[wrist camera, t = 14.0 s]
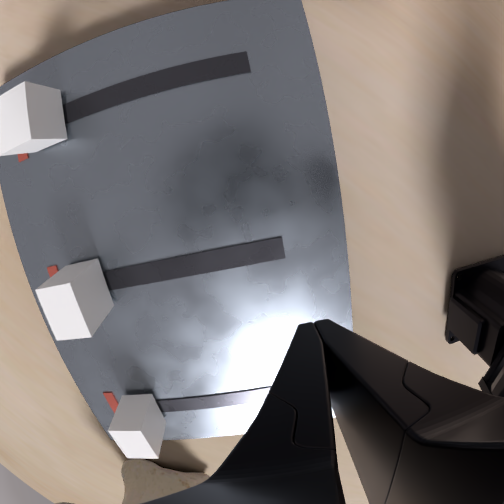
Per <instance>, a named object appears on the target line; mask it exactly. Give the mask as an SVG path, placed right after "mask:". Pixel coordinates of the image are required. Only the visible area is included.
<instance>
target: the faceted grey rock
mask: <svg viewBox="0 0 504 504" xmlns="http://www.w3.org/2000/svg"><path fill="white" fill-rule="evenodd" d="M121 473H122V477H123V481H124V485H125V494H124V499H123V502H122V504H140V503H144V502H147V501H150V500H154V499H157V498H160V497H164V496H167V495H170V494H173V493H176V492H179V491H182V490H185V489H187V488H190V487H193V486H196V485H198V484H200V483H202V482H204V481H205V480H207V479H208V478H209V476H208V475H207V474H204V472H200V473H184V472H179V471H174V470H171V469H167V468H162V467H160V466H158V465H157V464H155V463H154V462H151V461H149V460H145V459H140V458H136V459H130V460H127V461H125V462H124V464H123V466H122V470H121Z"/></svg>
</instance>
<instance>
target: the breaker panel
mask: <svg viewBox="0 0 504 504" xmlns="http://www.w3.org/2000/svg"><path fill="white" fill-rule="evenodd" d="M24 81H26V82H31V83H35V84H39V85H43V86H47V87H51V88H55V89H59V90H60V91H61V99H62V106H63V113H64V120H65V126H66V132H67V138H68V139H66V140H63V141H61V142H58V143H56V144H54V145H51V146H49V147H47V148H44V149H42V150H40V151H38V152H33V153H23V154H14V155H5V156H0V184H1V189H2V193H3V198H4V202H5V206H6V210H7V214H8V218H9V222H10V225H11V229H12V232H13V236H14V239H15V243H16V246H17V249H18V252H19V255H20V258H21V261H22V264H23V267H24V270H25V273H26V276H27V279H28V281H29V284H30V287H31V289H32V292H33V294H34V297H35V299H36V302H37V304H38V307H39V309H40V312H41V314H42V316H43V319H44V321H45V323H46V325H47V328H48V330H49V332H50V334H51V336H52V338H53V340H54V343H55V345H56V347H57V349H58V351H59V353H60V355H61V357H62V359H63V361H64V363H65V364H66V366H67V368H68V370H69V372H70V374H71V376H72V377H73V379H74V381H75V383H76V385H77V386H78V388H79V390H80V392H81V393H82V395H83V397H84V398H85V400H86V402H87V403H88V405H89V407H90V408H91V410H92V412H93V413H94V415H95V416H96V418H97V419H98V421H99V422H100V424H101V426H102V427H103V429H104V430H105V432H106V433H107V434H108V436H109V437H110V439H111V440H114V439H113V437H112V436H111V435H110V433H109V432H108V429H109V427H110V424H111V421H112V419H113V416H114V414H115V411H116V409H117V406H118V404H119V402H120V399H121V397H122V395H140V394H152V395H153V397H154V399H155V401H156V403H157V405H158V407H159V409H160V411H161V413H162V415H163V417H164V419H165V420H166V426H165V431H164V435H163V440H178V439H195V438H208V437H219V436H229V435H238V434H245V432H246V431H247V430H248V428H249V427H250V425H251V424H252V422H253V421H254V419H255V418H256V416H257V414H258V412H259V410H260V408H261V406H262V405H263V403H264V400H265V398H266V396H267V394H268V392H269V390H270V388H271V386H272V383H273V381H274V379H275V377H276V375H277V373H278V370H279V368H280V366H281V364H282V361H283V359H284V357H285V355H286V352H287V350H288V348H289V345H290V343H291V341H292V338H293V336H294V334H295V331H296V329H297V327H298V325H299V324H302V323H307V322H313V323H314V322H315V321H318V320H323V319H330V320H332V321H333V322H335V323H337V324H339V325H341V326H343V327H345V328H347V329H348V330H350V331H352V332H353V327H352V307H351V291H350V277H349V265H348V254H347V243H346V233H345V224H344V215H343V207H342V199H341V192H340V184H339V177H338V170H337V164H336V157H335V151H334V145H333V139H332V133H331V127H330V122H329V117H328V111H327V106H326V101H325V96H324V91H323V86H322V82H321V77H320V72H319V68H318V64H317V59H316V55H315V51H314V47H313V43H312V39H311V35H310V31H309V27H308V23H307V19H306V16H305V12H304V8H303V5H302V1H301V0H228V1H222V2H216V3H211V4H206V5H201V6H197V7H192V8H188V9H184V10H180V11H176V12H172V13H168V14H164V15H161V16H157V17H154V18H150V19H147V20H144V21H141V22H138V23H134V24H131V25H128V26H126V27H123V28H120V29H117V30H114V31H112V32H109V33H106V34H104V35H101V36H99V37H96V38H94V39H91V40H89V41H87V42H84V43H82V44H80V45H77V46H75V47H73V48H71V49H68V50H66V51H64V52H62V53H60V54H58V55H56V56H54V57H52V58H50V59H48V60H46V61H44V62H42V63H40V64H38V65H36V66H35V67H33V68H31V69H29V70H27V71H26V72H24V73H22V74H20V75H19V76H17V77H15V78H14V79H12V80H10V81H9V82H7V83H5V84H4V85H2V86H1V87H0V95H2V94H4V93H5V92H7V91H9V90H10V89H12V88H14V87H15V86H17V85H19V84H20V83H22V82H24ZM93 259H98V260H99V263H100V266H101V269H102V272H103V275H104V278H105V281H106V284H107V287H108V290H109V292H110V295H111V298H112V301H113V304H114V307H113V308H112V309H111V311H110V312H109V313H108V315H107V316H106V318H105V319H104V320H103V322H102V323H101V325H100V326H99V328H98V329H97V330H96V332H95V333H94V335H93V336H92V337H89V338H80V339H69V340H59V341H57V340H56V338H55V336H54V334H53V331H52V329H51V327H50V325H49V322H48V320H47V318H46V316H45V313H44V311H43V308H42V306H41V304H40V301H39V299H38V296H37V294H36V291H35V290H36V289H37V288H38V287H39V286H40V285H42V284H43V283H44V282H45V281H47V280H48V279H49V278H50V277H52V276H53V275H54V274H56V273H57V272H58V271H59V270H61V269H62V268H63V267H65V266H66V265H71V264H75V263H80V262H84V261H89V260H93ZM332 415H333V417H336V416H335V414H334V411H333V409H332Z"/></svg>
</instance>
